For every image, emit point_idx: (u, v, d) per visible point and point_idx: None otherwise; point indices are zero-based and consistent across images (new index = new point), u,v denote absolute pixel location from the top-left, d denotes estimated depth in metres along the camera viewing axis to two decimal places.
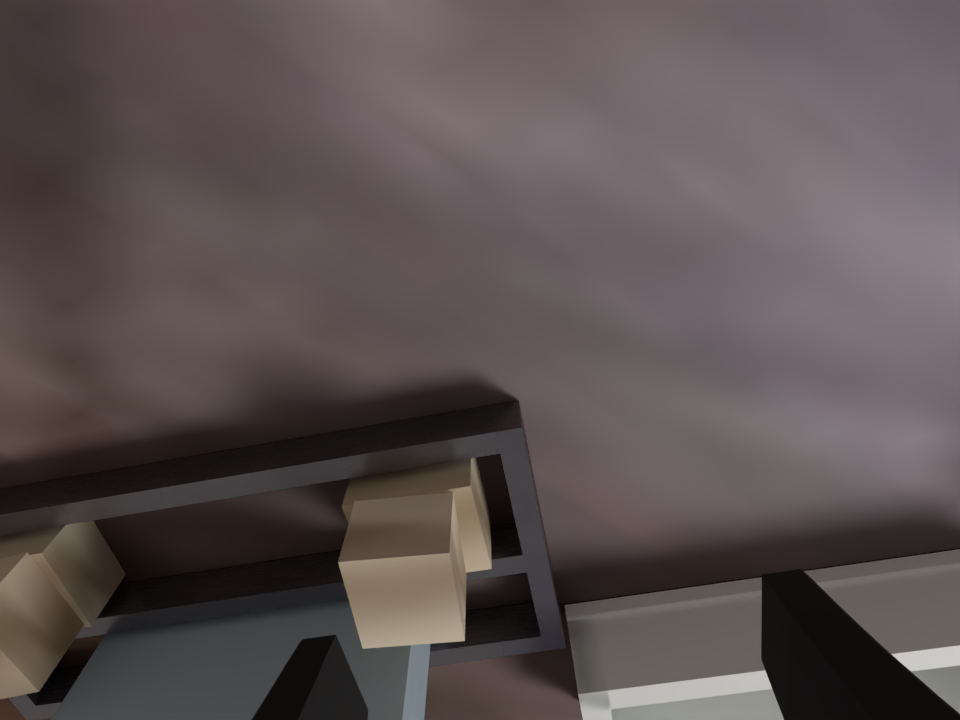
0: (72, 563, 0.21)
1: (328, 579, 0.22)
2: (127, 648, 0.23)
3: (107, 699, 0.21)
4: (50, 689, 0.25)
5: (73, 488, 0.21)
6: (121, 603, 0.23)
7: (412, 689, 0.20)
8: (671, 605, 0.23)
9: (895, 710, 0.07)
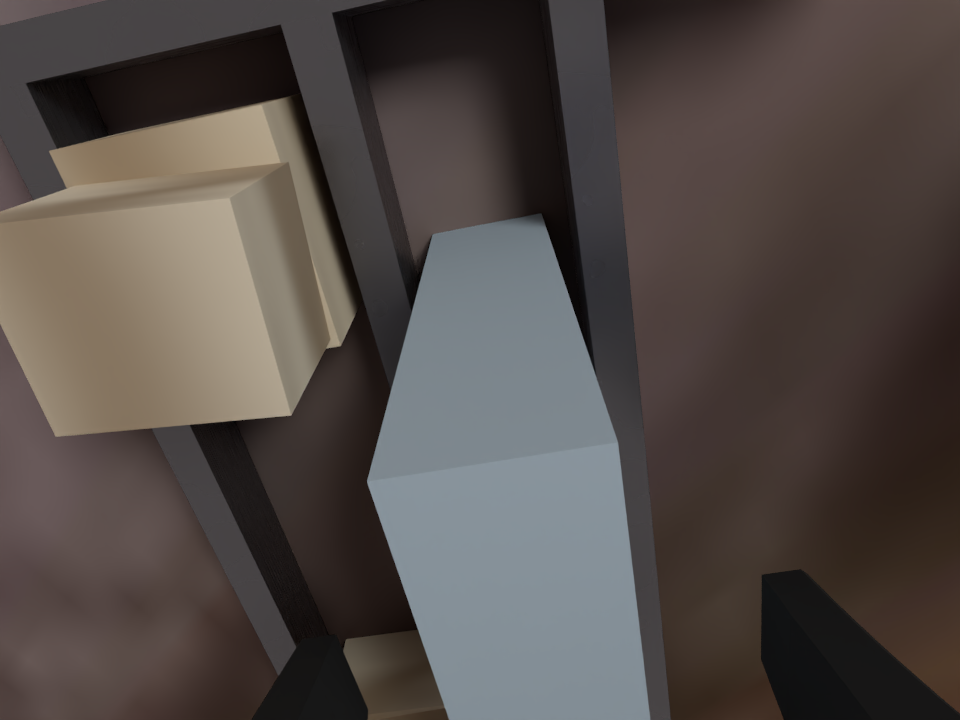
0: (376, 687, 0.16)
1: None
2: None
3: None
4: None
5: None
6: None
7: (457, 318, 0.08)
8: None
9: (895, 710, 0.07)
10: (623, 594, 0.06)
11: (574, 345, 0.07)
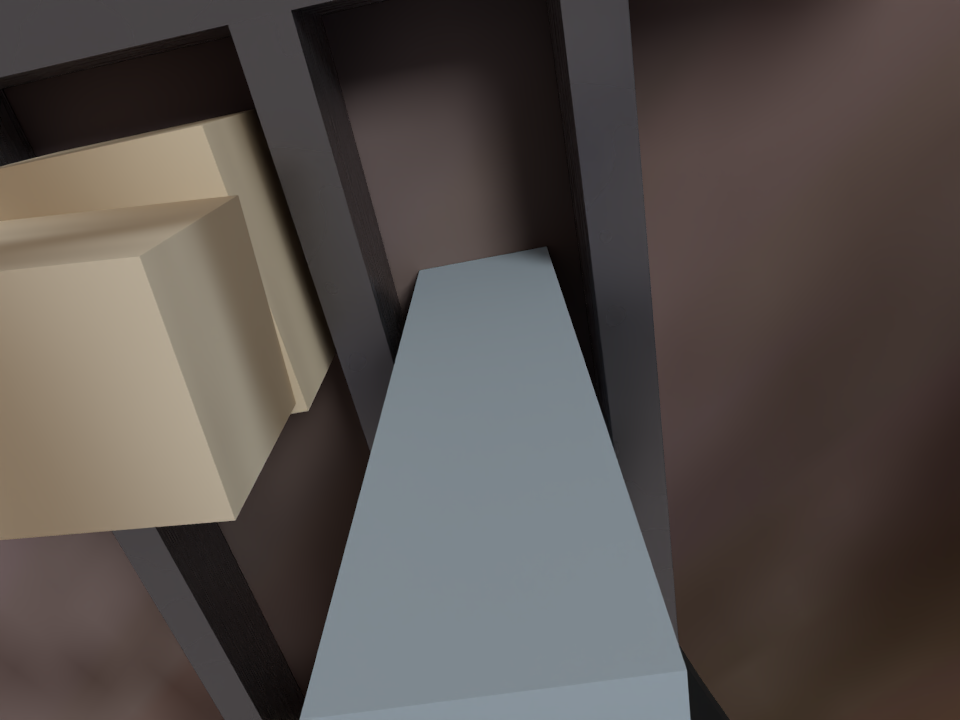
0: None
1: None
2: None
3: None
4: None
5: None
6: None
7: (445, 403, 0.07)
8: None
9: None
10: None
11: (603, 461, 0.05)
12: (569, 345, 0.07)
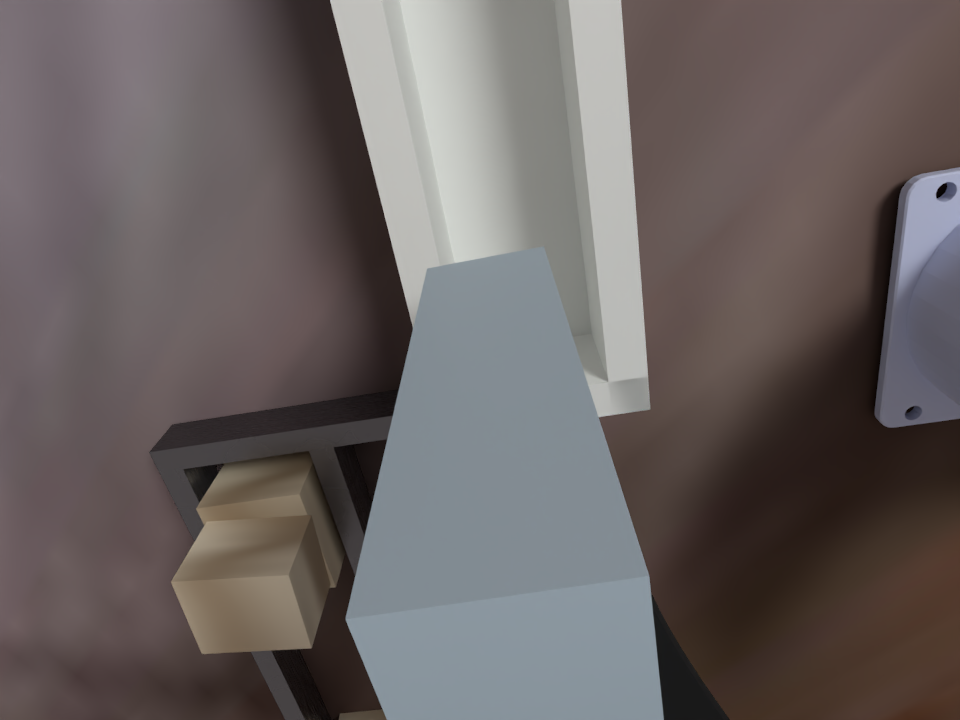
0: None
1: None
2: None
3: None
4: None
5: None
6: None
7: (453, 382, 0.07)
8: None
9: None
10: None
11: (588, 426, 0.06)
12: (563, 333, 0.08)
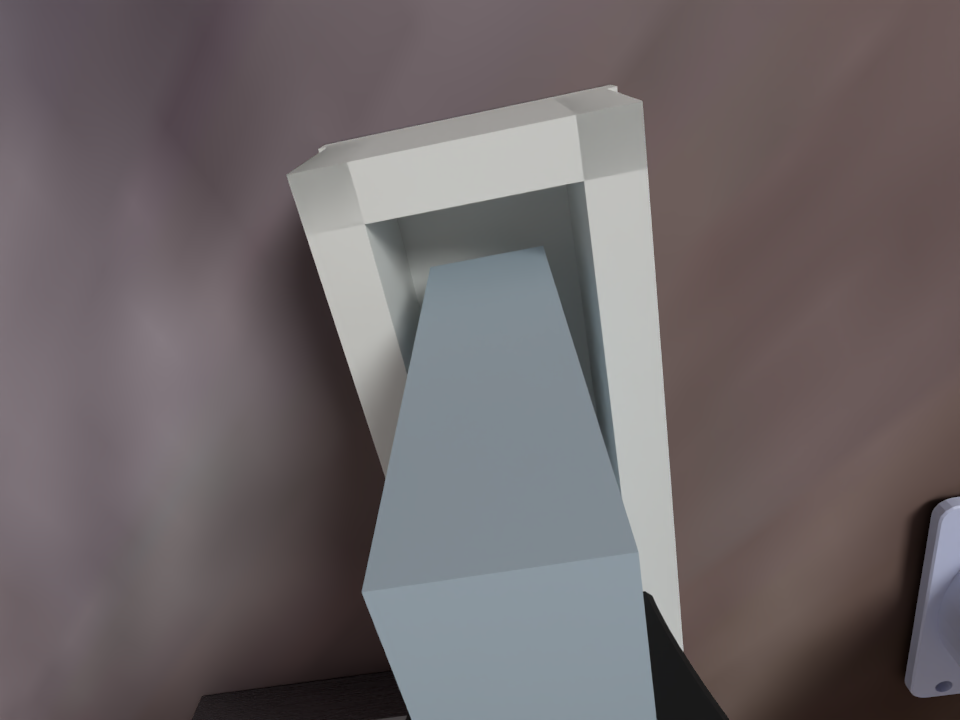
0: None
1: None
2: None
3: None
4: None
5: None
6: None
7: (458, 377, 0.08)
8: None
9: None
10: (640, 700, 0.06)
11: (584, 418, 0.07)
12: (561, 330, 0.09)
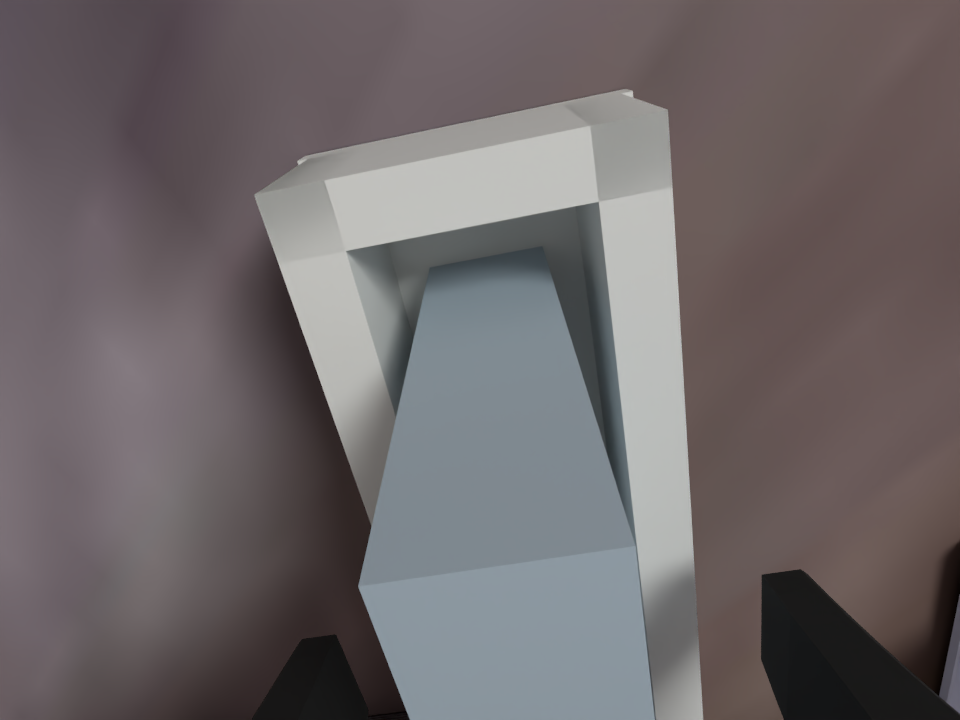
0: None
1: None
2: None
3: None
4: None
5: None
6: None
7: (456, 375, 0.08)
8: None
9: (895, 710, 0.07)
10: (638, 696, 0.06)
11: (582, 414, 0.07)
12: (559, 328, 0.09)
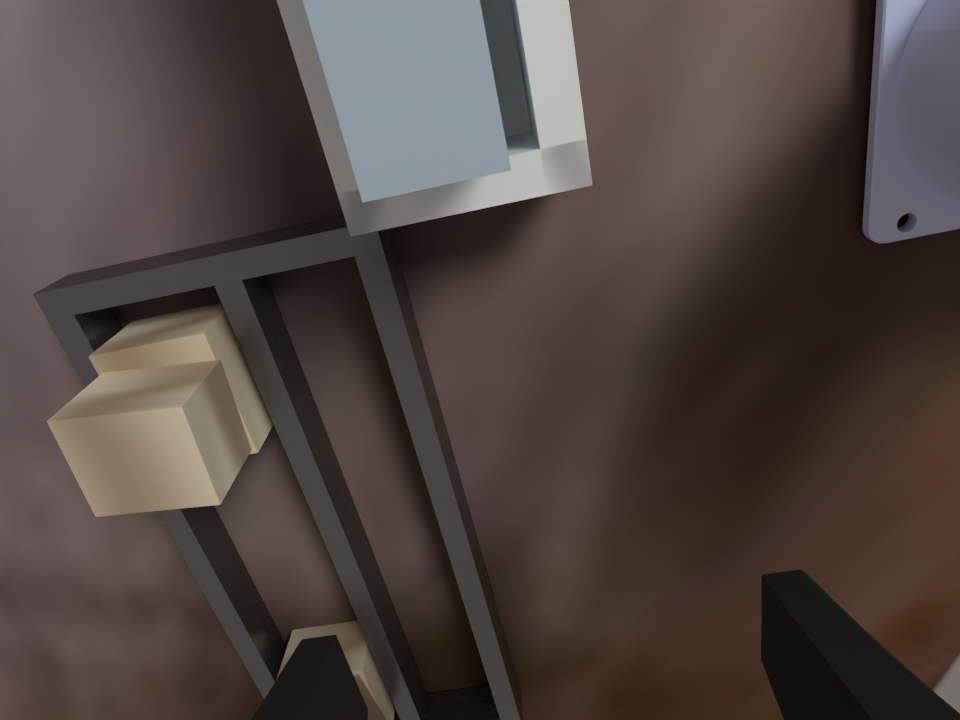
0: None
1: None
2: None
3: None
4: None
5: None
6: None
7: None
8: None
9: (895, 710, 0.07)
10: None
11: None
12: None
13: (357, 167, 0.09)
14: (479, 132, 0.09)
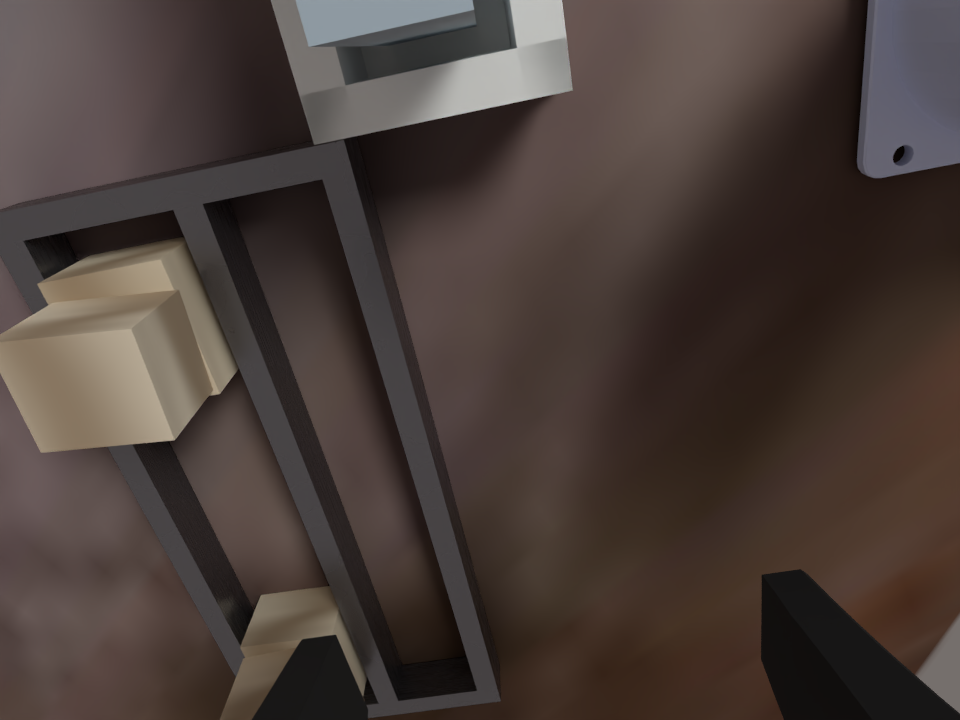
0: (277, 626, 0.23)
1: None
2: None
3: None
4: None
5: None
6: None
7: None
8: None
9: (895, 710, 0.07)
10: None
11: None
12: None
13: (302, 3, 0.08)
14: None
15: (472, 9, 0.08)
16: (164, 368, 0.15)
